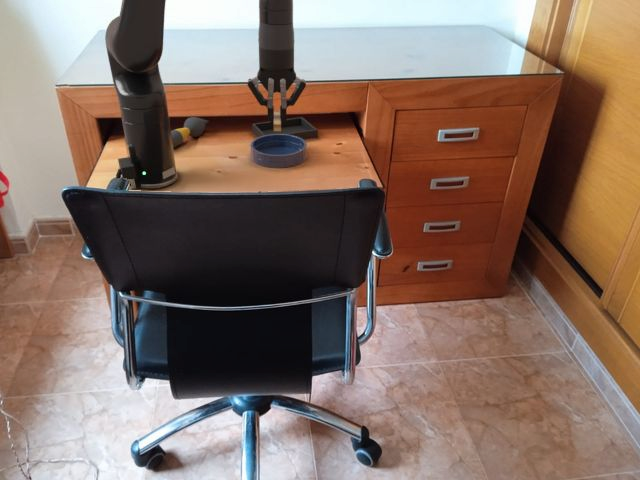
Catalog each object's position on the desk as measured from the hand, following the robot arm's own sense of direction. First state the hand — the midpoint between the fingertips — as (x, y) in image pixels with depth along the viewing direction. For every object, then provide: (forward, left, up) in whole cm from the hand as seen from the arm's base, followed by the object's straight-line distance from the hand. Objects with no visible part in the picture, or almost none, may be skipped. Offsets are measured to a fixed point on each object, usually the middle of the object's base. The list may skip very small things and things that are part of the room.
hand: (277, 122), depth 123 cm
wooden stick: (0, 0, 0) cm, 0 cm away
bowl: (0, 0, -9) cm, 9 cm away
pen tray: (+7, +13, -9) cm, 17 cm away
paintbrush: (-19, +18, -9) cm, 27 cm away
